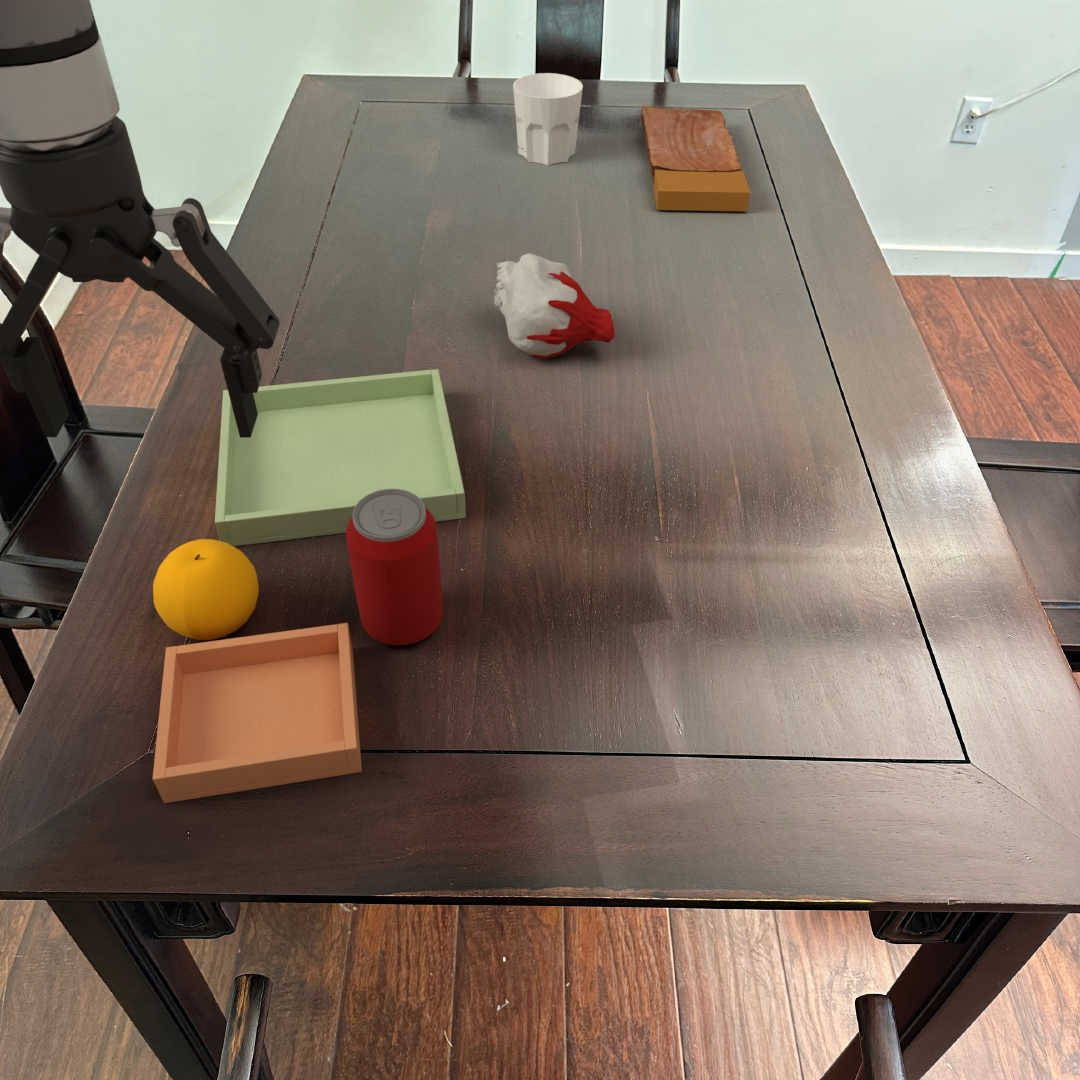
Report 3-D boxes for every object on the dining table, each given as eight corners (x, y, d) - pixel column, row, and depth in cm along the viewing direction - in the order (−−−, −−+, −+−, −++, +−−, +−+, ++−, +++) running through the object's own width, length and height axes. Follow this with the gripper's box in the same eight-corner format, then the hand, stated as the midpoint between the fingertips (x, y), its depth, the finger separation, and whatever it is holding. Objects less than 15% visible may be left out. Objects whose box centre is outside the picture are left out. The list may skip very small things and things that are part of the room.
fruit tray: (222, 548, 85) (214, 522, 83) (229, 415, 98) (223, 390, 96) (466, 518, 88) (464, 492, 86) (440, 393, 102) (438, 368, 100)
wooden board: (653, 211, 132) (655, 188, 130) (638, 126, 154) (640, 105, 152) (748, 213, 132) (752, 190, 130) (720, 128, 154) (723, 106, 152)
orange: (209, 570, 83) (187, 506, 78) (285, 600, 80) (268, 536, 75) (144, 635, 78) (117, 570, 72) (223, 669, 75) (201, 605, 70)
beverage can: (439, 585, 82) (430, 478, 74) (448, 646, 77) (439, 539, 69) (359, 594, 81) (341, 487, 73) (363, 657, 76) (343, 549, 68)
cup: (588, 146, 148) (592, 79, 141) (566, 172, 141) (569, 102, 134) (528, 136, 150) (528, 69, 143) (503, 161, 144) (502, 92, 137)
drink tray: (164, 803, 67) (152, 779, 65) (176, 672, 75) (165, 647, 73) (362, 772, 69) (356, 747, 67) (352, 647, 77) (347, 622, 75)
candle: (494, 305, 113) (617, 336, 112) (467, 356, 105) (600, 390, 104) (502, 234, 107) (633, 267, 106) (475, 284, 99) (616, 319, 98)
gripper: (287, 101, 57) (335, 395, 72) (-140, 97, 57) (-3, 394, 71) (263, 153, 52) (320, 459, 67) (-209, 150, 51) (-45, 459, 66)
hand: (153, 426), depth 69 cm, fingers open, 13 cm apart
